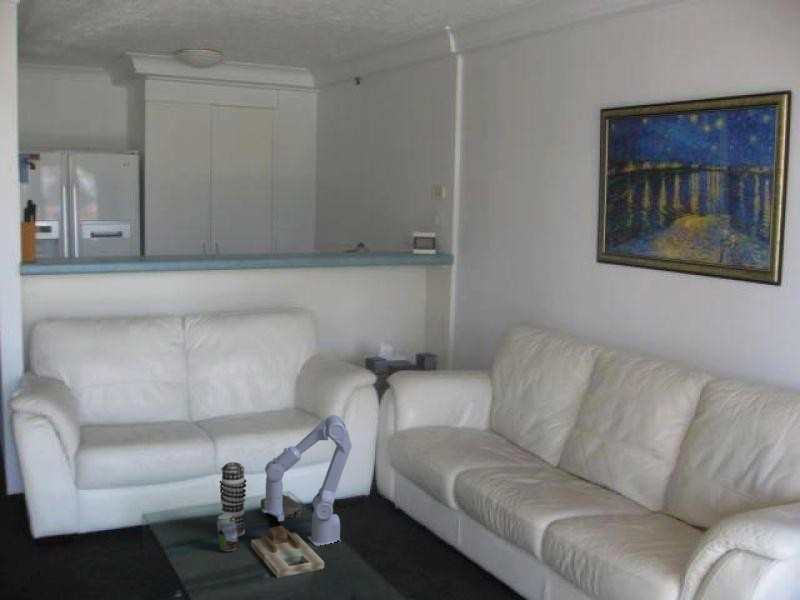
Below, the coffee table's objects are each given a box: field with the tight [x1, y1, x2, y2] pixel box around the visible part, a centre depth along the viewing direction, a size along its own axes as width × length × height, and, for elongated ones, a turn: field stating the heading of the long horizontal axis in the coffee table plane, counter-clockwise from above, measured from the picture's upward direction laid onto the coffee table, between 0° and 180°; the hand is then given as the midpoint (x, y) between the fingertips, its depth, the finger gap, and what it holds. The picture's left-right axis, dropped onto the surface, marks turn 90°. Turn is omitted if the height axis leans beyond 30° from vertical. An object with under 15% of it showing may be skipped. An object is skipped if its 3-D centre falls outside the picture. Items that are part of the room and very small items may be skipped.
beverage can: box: [216, 514, 239, 552], centre depth 326 cm, size 6×7×12 cm
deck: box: [250, 529, 325, 579], centre depth 322 cm, size 16×26×4 cm, turn 27°
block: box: [267, 525, 288, 544], centre depth 329 cm, size 5×5×4 cm
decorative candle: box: [219, 461, 247, 538], centre depth 339 cm, size 9×9×25 cm
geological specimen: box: [260, 494, 302, 520], centre depth 359 cm, size 11×6×15 cm
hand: (273, 533), depth 333 cm, fingers closed
